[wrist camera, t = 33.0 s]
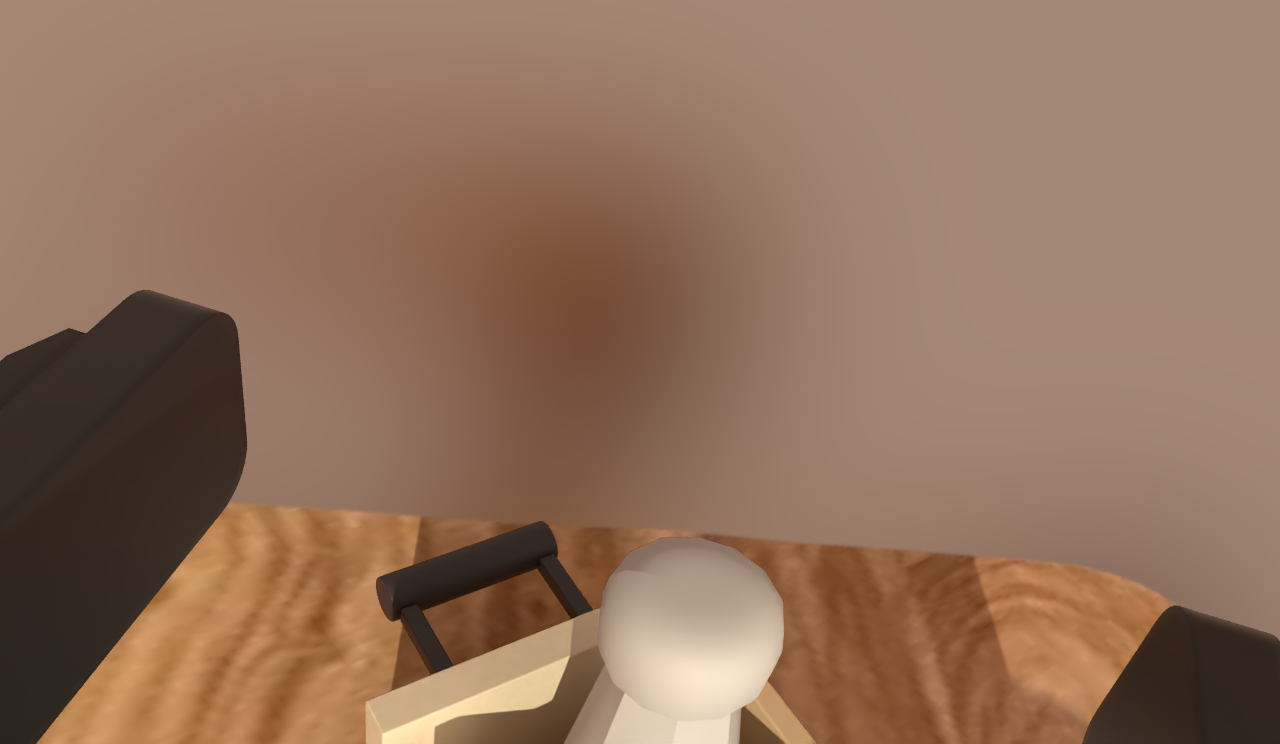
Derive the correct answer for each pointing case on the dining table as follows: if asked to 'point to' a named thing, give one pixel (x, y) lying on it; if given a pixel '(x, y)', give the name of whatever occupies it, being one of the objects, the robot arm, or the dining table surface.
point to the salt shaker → (681, 646)
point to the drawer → (512, 659)
